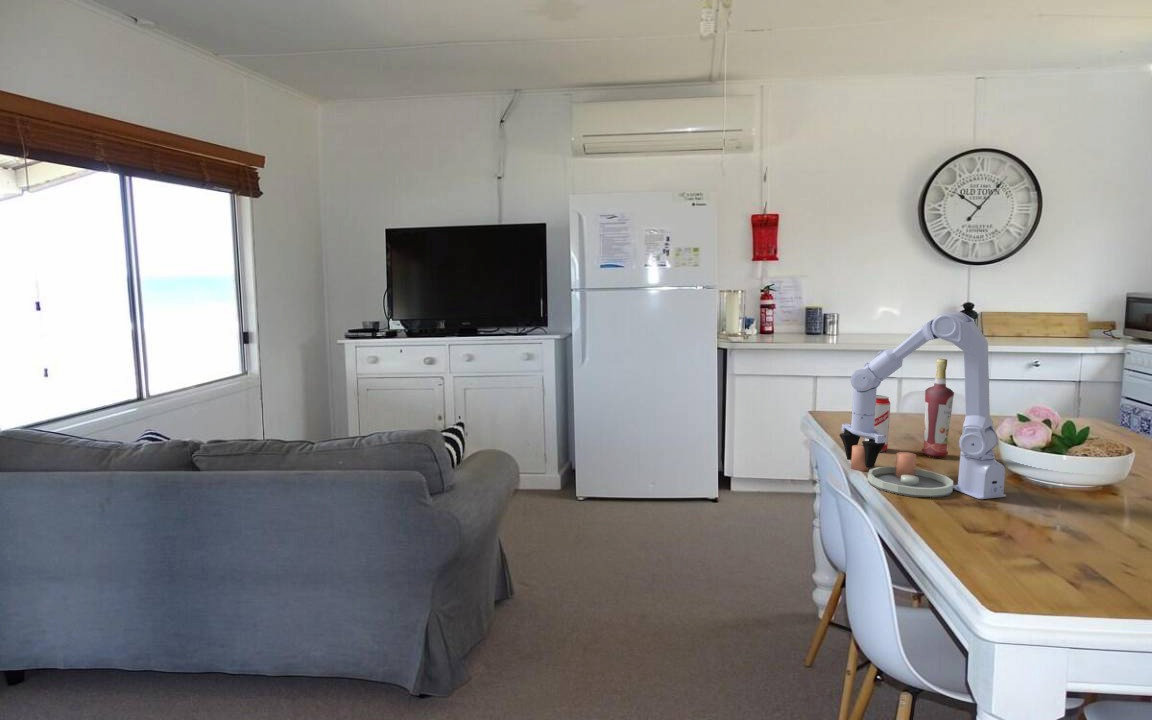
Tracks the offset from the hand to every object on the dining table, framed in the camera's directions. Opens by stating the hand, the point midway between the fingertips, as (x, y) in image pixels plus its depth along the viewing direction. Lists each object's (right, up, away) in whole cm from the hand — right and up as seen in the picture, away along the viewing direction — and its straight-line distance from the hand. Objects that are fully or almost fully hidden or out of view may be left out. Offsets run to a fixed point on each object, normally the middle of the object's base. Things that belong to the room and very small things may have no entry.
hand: (860, 463), depth 193 cm
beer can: (+13, +1, +20) cm, 24 cm away
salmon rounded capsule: (+8, -2, -9) cm, 12 cm away
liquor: (+27, 0, +14) cm, 31 cm away
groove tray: (+6, -4, -14) cm, 16 cm away
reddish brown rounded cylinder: (0, -2, 0) cm, 2 cm away
